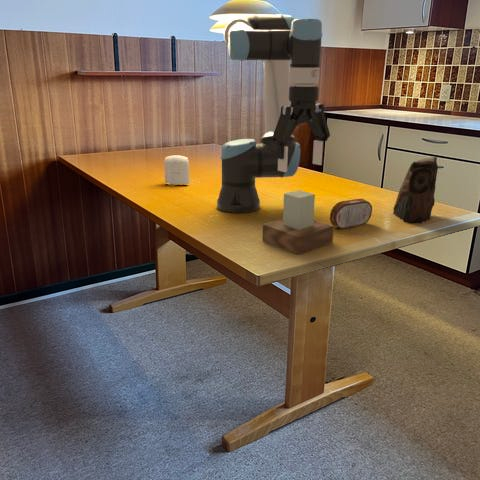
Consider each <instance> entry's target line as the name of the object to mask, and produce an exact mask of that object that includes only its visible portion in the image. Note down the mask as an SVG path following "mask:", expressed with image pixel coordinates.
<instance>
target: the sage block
mask: <svg viewBox="0 0 480 480" xmlns="http://www.w3.org/2000/svg"><path fill="white" fill-rule="evenodd" d="M315 200H316V194H315V193H311V192H306V191H303V190H300V189H299V190H293V191H289V192H285V193H283V208H282V209H283V211H282V213H283V214H282V215H283V216H282V219H283V225H285V226H288V227H291V228H294V229H297V230H300V229H303V228H307V227H310V226H313V221H314V220H315V219H314V218H315V216H314V215H315Z"/></svg>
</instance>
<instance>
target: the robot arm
mask: <svg viewBox="0 0 480 480" xmlns="http://www.w3.org/2000/svg"><path fill="white" fill-rule="evenodd" d="M322 24H323V23H322V21H321V20H320V19H318V18H296V19H295V18H294V17H293V16H292V15H289V14H282V13H279V14H253V13H252V14H250V13H249V14H244V15H240V16H236V17H235V18H233V19H231V20H230V21H228V23H227V24H226V25H225V28H224V30H223V39H224V42H225V43H226V45H227V47H228V57H229V59H230V60H232V61H240V62H242V61H243V62H244V61H261V62H262V63H263V87H264V88H263V91H264V92H263V94H264V96H263V97H264V134H263V135H262V136H261V138H260V142H259V143H257V141H256V139H254V138H240V139H235V140H229V141H228V142H225V143H224V144H222V147H221V153H220V154H221V155H220V160H221V187H220V191H219V195H218V198H217V201H216V207H217V209H218V210H219V209H220V210H219V211H221V210H222V212H226V213H233V214H234V213H235V214H240V213H241V214H242V213H244V214H245V213H250V212H251V213H252V212H255V211H258V210H260V207H261V200H260V198H259V193H258V191H257V187H256V178H257V179H258V178H260V179H261V178H262V179H263V178H266V179H267V178H281V179H283V178H289V177H294V175H295V174H296V173H297V172H298V169H299V165H300V159H301V145H300V142H297V141H296V140H295V139H296V138H295V135H293V133H294V131H295V130H296V128H297V127H299V125H300V124H305V123H307V126H309V128H310V130H311V132H312V134H313V135H314V137H315V140H313V149H312V150H313V151H312V165H318V166H322V164H323V153H324V148H325V147H324V146H325V142H327V141H328V139H329V138H330V136H331V133H330V129H329V126H328V123H327V122H328V121H327V117H326V115H325V104H324V103H318V100H319V92H320V91H319V90H320V89H319V86H317V85H318V84H319V83H320V66H321V53H322V51H321V49H322V37H323V28H322ZM316 102H317V103H316Z"/></svg>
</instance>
